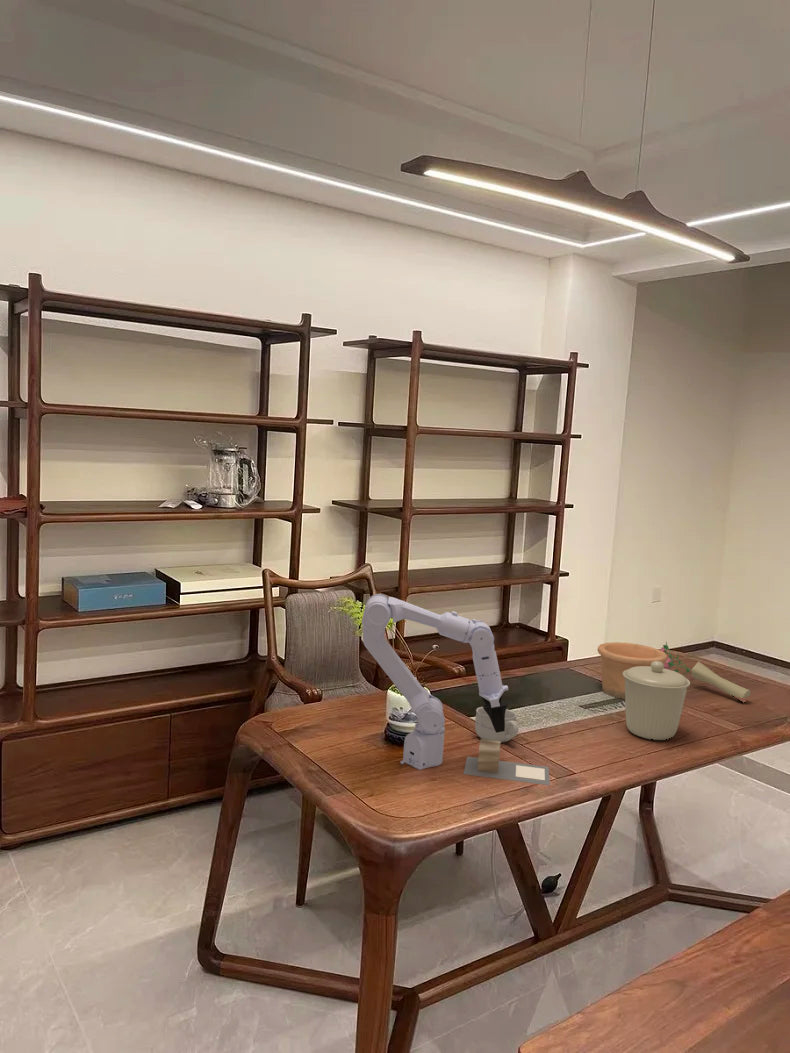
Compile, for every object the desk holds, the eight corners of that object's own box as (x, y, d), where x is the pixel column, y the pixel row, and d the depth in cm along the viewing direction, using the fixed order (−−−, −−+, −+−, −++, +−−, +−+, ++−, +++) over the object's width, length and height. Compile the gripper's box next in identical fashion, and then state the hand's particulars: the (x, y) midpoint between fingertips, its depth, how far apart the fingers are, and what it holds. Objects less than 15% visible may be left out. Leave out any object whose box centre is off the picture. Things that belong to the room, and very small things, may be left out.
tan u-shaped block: (497, 773, 191) (499, 748, 190) (477, 770, 192) (479, 746, 191) (498, 765, 196) (500, 741, 195) (478, 762, 196) (480, 739, 196)
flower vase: (731, 725, 263) (643, 674, 288) (752, 709, 269) (664, 661, 294) (736, 696, 257) (646, 647, 283) (758, 681, 264) (668, 634, 289)
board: (463, 777, 189) (463, 773, 189) (466, 760, 200) (467, 755, 200) (549, 789, 186) (549, 784, 186) (548, 770, 197) (549, 766, 197)
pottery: (615, 704, 252) (619, 660, 251) (582, 683, 274) (586, 641, 272) (676, 703, 257) (680, 659, 256) (640, 682, 279) (644, 642, 277)
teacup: (467, 734, 218) (469, 705, 217) (502, 731, 222) (504, 703, 221) (491, 754, 205) (493, 723, 204) (528, 751, 209) (530, 721, 208)
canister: (648, 749, 216) (656, 672, 213) (604, 725, 232) (610, 654, 230) (698, 742, 223) (706, 668, 221) (652, 720, 240) (659, 651, 237)
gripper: (507, 677, 186) (518, 733, 187) (500, 660, 200) (511, 712, 202) (477, 683, 186) (488, 739, 188) (473, 666, 201) (483, 717, 202)
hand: (498, 725), depth 195 cm, fingers open, 7 cm apart
